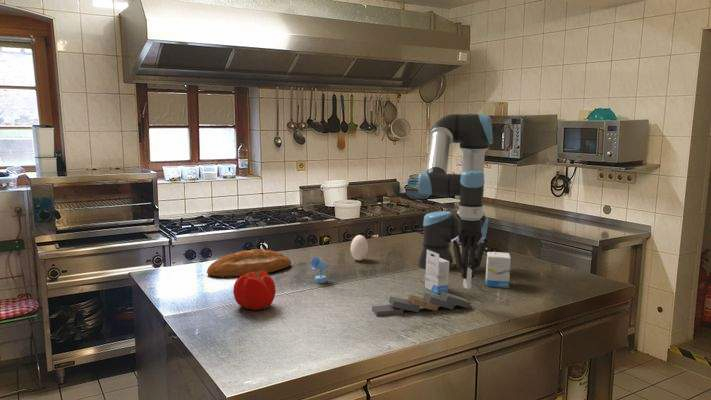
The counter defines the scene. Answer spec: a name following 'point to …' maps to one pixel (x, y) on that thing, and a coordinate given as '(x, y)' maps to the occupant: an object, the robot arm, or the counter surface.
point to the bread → (248, 263)
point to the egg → (359, 247)
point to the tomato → (254, 290)
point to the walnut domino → (421, 302)
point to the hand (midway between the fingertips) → (467, 287)
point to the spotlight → (319, 265)
